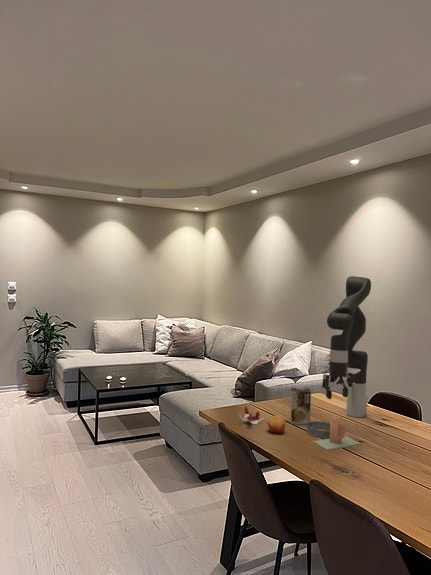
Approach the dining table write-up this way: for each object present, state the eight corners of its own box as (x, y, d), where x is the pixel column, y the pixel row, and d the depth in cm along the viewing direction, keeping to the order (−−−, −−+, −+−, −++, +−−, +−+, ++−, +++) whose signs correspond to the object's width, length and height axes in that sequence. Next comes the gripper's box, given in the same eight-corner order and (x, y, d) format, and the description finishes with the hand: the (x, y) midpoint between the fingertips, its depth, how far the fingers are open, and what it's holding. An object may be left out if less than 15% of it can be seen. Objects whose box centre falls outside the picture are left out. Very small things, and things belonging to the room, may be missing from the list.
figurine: (266, 428, 199) (267, 414, 199) (242, 428, 198) (242, 414, 198) (259, 417, 214) (260, 404, 214) (236, 418, 213) (237, 404, 213)
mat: (346, 437, 191) (346, 435, 191) (360, 444, 183) (360, 443, 183) (313, 442, 184) (313, 441, 184) (327, 450, 176) (327, 449, 176)
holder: (323, 426, 205) (323, 420, 205) (342, 435, 193) (342, 429, 193) (300, 429, 199) (301, 423, 199) (318, 439, 188) (319, 432, 187)
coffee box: (308, 420, 212) (309, 388, 212) (310, 425, 206) (311, 391, 205) (289, 419, 213) (291, 387, 213) (290, 424, 207) (292, 390, 206)
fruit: (288, 426, 199) (286, 413, 195) (284, 439, 193) (282, 427, 189) (271, 423, 202) (269, 411, 199) (266, 436, 196) (264, 424, 193)
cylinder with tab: (327, 440, 186) (327, 416, 185) (336, 438, 188) (337, 415, 188) (338, 446, 179) (339, 422, 179) (347, 444, 181) (348, 421, 181)
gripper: (331, 362, 177) (329, 401, 178) (357, 360, 183) (356, 398, 184) (319, 359, 184) (318, 396, 184) (345, 357, 190) (344, 393, 190)
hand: (337, 397), depth 184 cm, fingers open, 8 cm apart
